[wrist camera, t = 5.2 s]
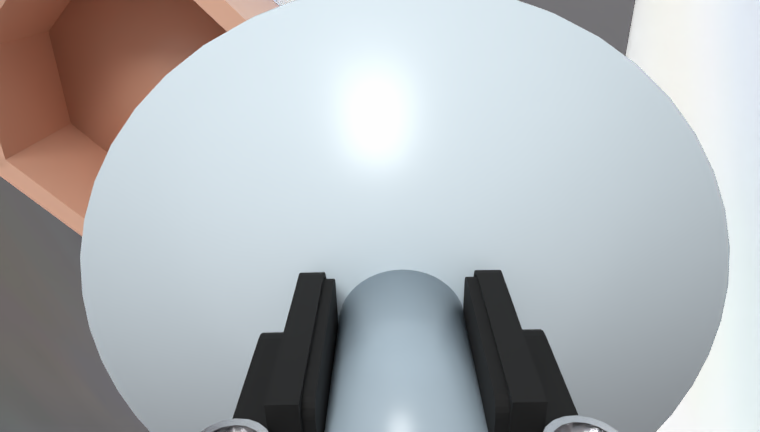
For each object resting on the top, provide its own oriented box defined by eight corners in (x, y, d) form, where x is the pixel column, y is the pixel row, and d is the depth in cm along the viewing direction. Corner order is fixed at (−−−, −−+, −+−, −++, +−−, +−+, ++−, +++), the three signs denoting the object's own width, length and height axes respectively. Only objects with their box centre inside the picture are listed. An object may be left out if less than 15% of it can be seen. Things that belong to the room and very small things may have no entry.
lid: (787, -28, 10) (1206, -3, 5) (648, 507, 16) (774, 775, 11) (20, -10, 11) (-345, 32, 5) (160, 510, 16) (54, 772, 11)
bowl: (290, -63, 25) (260, -65, 19) (305, 191, 30) (286, 245, 25) (18, -63, 25) (-86, -64, 20) (80, 189, 30) (12, 243, 25)
